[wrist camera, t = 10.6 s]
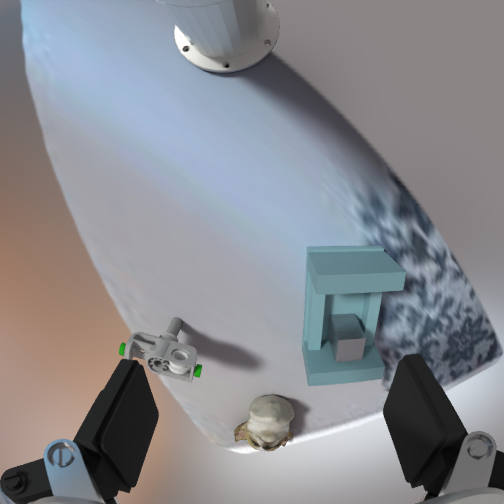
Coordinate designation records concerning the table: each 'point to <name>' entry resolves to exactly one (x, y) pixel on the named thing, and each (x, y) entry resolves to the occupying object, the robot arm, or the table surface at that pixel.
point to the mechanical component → (164, 353)
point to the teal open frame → (345, 307)
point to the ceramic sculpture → (267, 423)
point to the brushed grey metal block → (346, 337)
